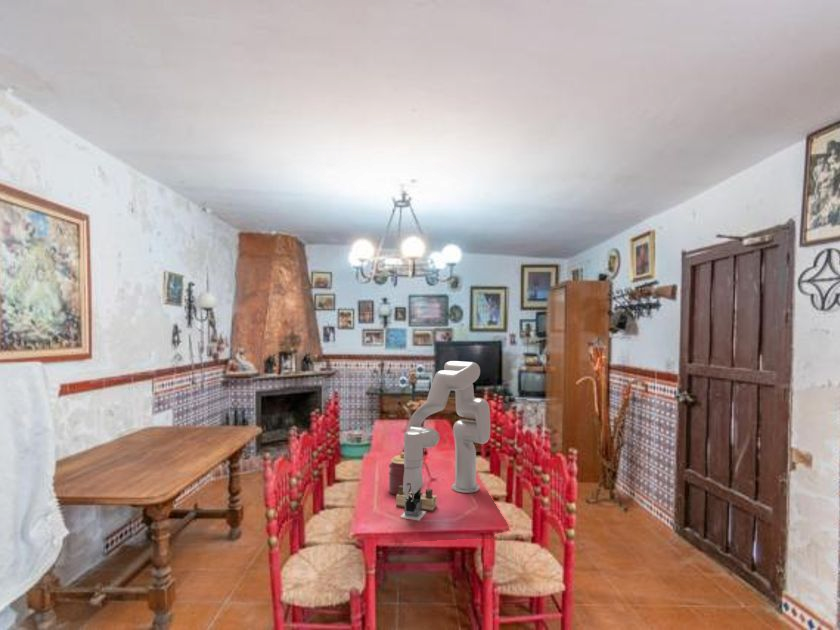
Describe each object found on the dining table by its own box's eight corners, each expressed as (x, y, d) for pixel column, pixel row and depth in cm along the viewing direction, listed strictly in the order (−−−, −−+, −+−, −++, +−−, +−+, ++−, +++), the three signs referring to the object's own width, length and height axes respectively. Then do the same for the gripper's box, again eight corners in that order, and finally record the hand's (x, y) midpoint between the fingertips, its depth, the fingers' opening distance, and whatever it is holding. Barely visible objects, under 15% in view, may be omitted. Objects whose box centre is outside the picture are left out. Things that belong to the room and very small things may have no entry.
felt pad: (407, 510, 191) (407, 508, 191) (426, 512, 188) (426, 511, 188) (400, 517, 183) (400, 516, 183) (419, 520, 180) (419, 519, 180)
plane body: (401, 501, 200) (401, 483, 200) (436, 506, 194) (436, 488, 195) (396, 506, 195) (396, 488, 195) (432, 511, 189) (432, 492, 189)
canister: (413, 497, 205) (413, 457, 205) (385, 495, 207) (385, 455, 208) (419, 487, 217) (419, 449, 218) (392, 485, 220) (393, 447, 220)
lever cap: (409, 510, 189) (409, 496, 189) (422, 512, 187) (422, 497, 187) (404, 515, 184) (404, 500, 184) (417, 517, 182) (417, 502, 182)
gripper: (412, 455, 195) (412, 498, 195) (396, 467, 179) (396, 514, 179) (429, 457, 193) (429, 501, 192) (414, 470, 176) (414, 517, 176)
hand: (413, 507), depth 186 cm, fingers open, 6 cm apart
